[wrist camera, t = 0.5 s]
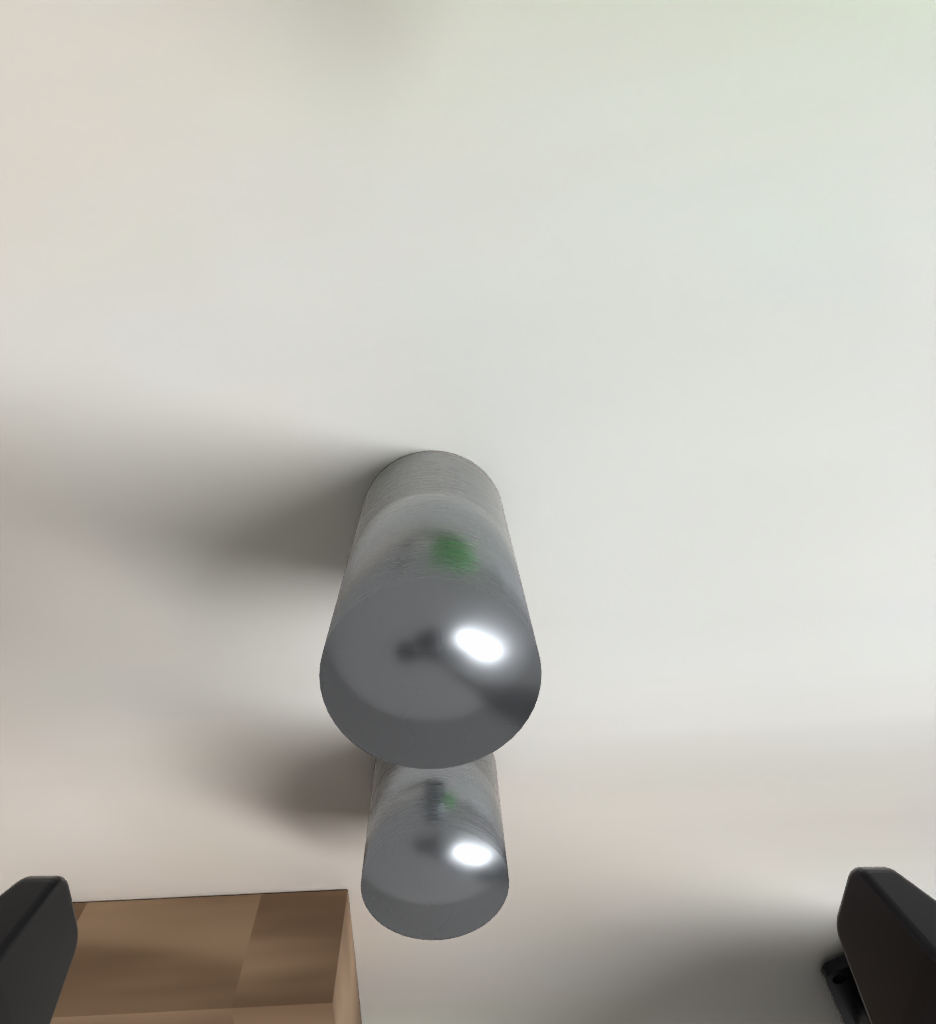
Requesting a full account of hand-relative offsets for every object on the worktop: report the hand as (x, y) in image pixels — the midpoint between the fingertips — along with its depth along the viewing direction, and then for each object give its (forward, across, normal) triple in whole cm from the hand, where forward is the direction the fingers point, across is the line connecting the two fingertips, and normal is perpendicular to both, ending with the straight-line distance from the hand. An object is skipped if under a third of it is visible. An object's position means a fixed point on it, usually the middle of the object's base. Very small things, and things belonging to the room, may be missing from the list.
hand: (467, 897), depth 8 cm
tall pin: (+13, 0, 0) cm, 13 cm away
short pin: (+13, 0, +9) cm, 16 cm away
